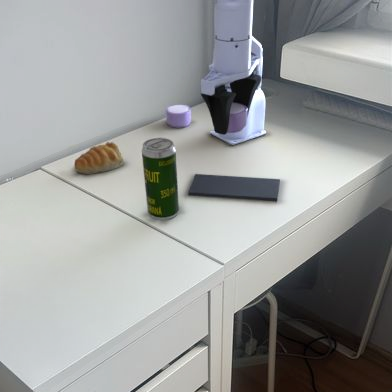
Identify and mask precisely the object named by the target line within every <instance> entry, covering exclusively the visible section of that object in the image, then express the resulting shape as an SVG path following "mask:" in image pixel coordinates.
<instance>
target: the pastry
mask: <svg viewBox="0 0 392 392" xmlns="http://www.w3.org/2000/svg"><path fill="white" fill-rule="evenodd" d="M124 161H125V159H124V157H123V154H122V152H121V151H120V149H119V146H118V145H117V144H116V143H114V142H113V141H106V142H105V144H98V145H95V146H92V147H90V148H89V150H87V151H86V152H85V153H82V154H80V156H78V157H77V158H76V159H75V160H74V170H75V171H76V172H79V173H82V174H86V175H93V174H96V173H97V174H100V173H103V172H108V171H111V170H116V169H119V168H120V167H122V166H123V164H124Z"/></svg>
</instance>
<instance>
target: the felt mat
mask: <svg viewBox="0 0 392 392" xmlns="http://www.w3.org/2000/svg"><path fill="white" fill-rule="evenodd" d="M280 183H281V179H280V178H265V177H253V176H252V177H250V176H237V175H236V176H231V175H219V174H218V175H217V174H202V173H201V174H200V173H195V174H194V176H193V179H192V181H191V184H190V186H189V189H188V191H187V195H188V196H193V197H195V196H196V197H207V198H208V197H209V198H222V199H224V198H225V199H238V200H251V201H252V200H253V201H267V202H278V197H279V190H280Z"/></svg>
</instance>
